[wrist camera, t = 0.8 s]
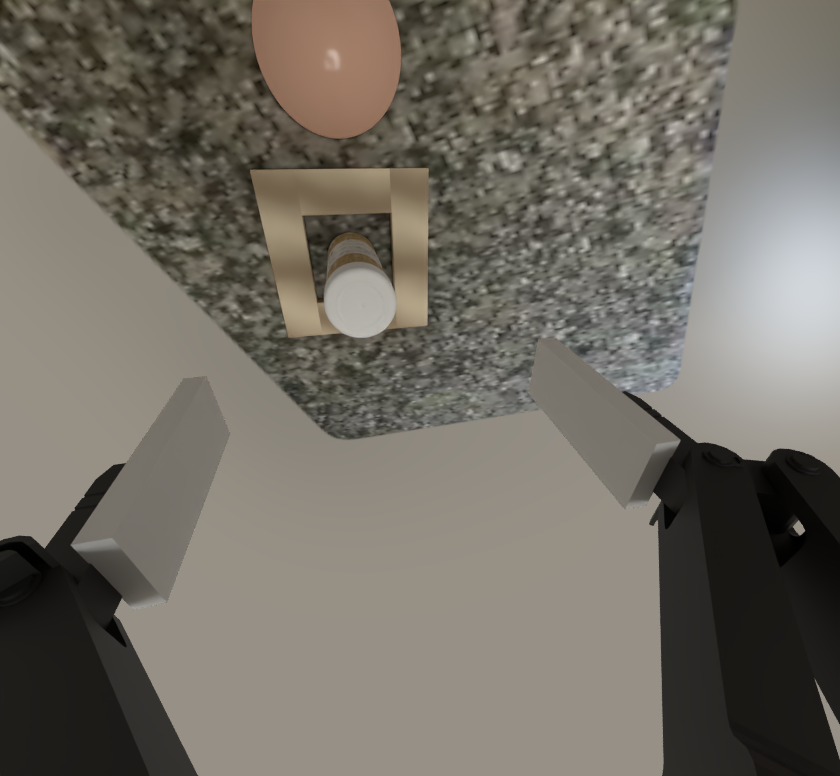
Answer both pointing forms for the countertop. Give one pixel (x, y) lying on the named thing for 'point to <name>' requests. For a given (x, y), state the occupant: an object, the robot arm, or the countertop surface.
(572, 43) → the countertop surface
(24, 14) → the countertop surface
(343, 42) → the coaster
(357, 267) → the sprinkles bottle
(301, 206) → the collar board
